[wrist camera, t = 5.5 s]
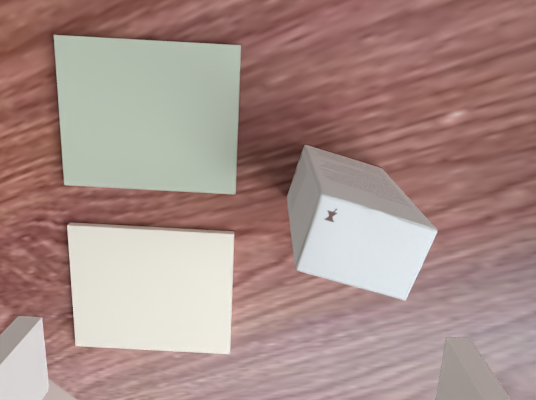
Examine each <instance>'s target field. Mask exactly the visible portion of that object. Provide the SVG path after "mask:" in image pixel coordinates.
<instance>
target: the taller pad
mask: <svg viewBox="0 0 536 400" xmlns="http://www.w3.org/2000/svg"><path fill="white" fill-rule="evenodd" d="M67 231H68V245H69V259H70V273H71V288H72V302H73V316H74V330H75V344H76V346H85V347H104V348H123V349H142V350H161V351H180V352H199V353H218V354H230V344H231V316H232V288H233V260H234V232H235V231H219V230H200V229H182V228H163V227H145V226H126V225H108V224H89V223H69V224H68V225H67Z"/></svg>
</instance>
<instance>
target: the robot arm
mask: <svg viewBox="0 0 536 400" xmlns="http://www.w3.org/2000/svg"><path fill="white" fill-rule="evenodd" d="M48 390H49V382H48V372H47V362H46V352H45V342H44V332H43V322H42V317H26V316H18V317H17V318H16V319H15V320H14V321H13V322H12V323H11V324H10V325H9V326H8V327H7V328H6V330H5V331H4V332H3V333H2V334H1V335H0V400H42V399H43V397H44V396H45V394H46V393H47V391H48ZM435 400H511V399H510V397H509V396H508V394H507V393H506V391H505V390H504V388H503V387H502V385H501V384H500V382H499V381H498V379H497V378H496V376H495V375H494V373H493V372H492V371H491V369H490V368H489V366H488V365H487V363H486V362H485V360H484V359H483V357H482V356H481V354H480V353H479V351H478V350H477V348H476V347H475V345H474V344H473V342H472V341H471V339H470V338H457V337H446V341H445V347H444V353H443V358H442V364H441V370H440V376H439V382H438V387H437V393H436V399H435Z"/></svg>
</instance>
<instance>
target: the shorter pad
mask: <svg viewBox="0 0 536 400" xmlns="http://www.w3.org/2000/svg"><path fill="white" fill-rule="evenodd" d="M54 47H55V61H56V75H57V89H58V104H59V118H60V132H61V146H62V160H63V174H64V185H72V186H90V187H108V188H127V189H145V190H164V191H182V192H201V193H219V194H236V175H237V147H238V119H239V91H240V63H241V45H226V44H208V43H190V42H172V41H154V40H136V39H118V38H100V37H82V36H64V35H54Z"/></svg>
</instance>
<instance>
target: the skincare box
mask: <svg viewBox="0 0 536 400" xmlns="http://www.w3.org/2000/svg"><path fill="white" fill-rule="evenodd" d="M287 204H288V213H289V221H290V230H291V238H292V246H293V254H294V263H295V268H296V270H297V271H300V272H304V273H307V274H310V275H314V276H318V277H321V278H325V279H328V280H332V281H336V282H339V283H343V284H346V285H350V286H354V287H358V288H362V289H365V290H369V291H373V292H376V293H380V294H383V295H387V296H391V297H394V298H398V299H401V300H406V299H407V297H408V294H409V292H410V290H411V288H412V286H413V284H414V281H415V279H416V277H417V275H418V273H419V271H420V269H421V266H422V264H423V262H424V260H425V258H426V256H427V254H428V251H429V249H430V247H431V245H432V243H433V241H434V238H435V236H436V234H437V229H436V228H435V227H434V226H433V225H432V223H431V222H430V221H429V220H428V219H427V218H426V217H425V216H424V214H423V213H422V212H421V211H420V210H419V209H418V208H417V207H416V205H415V204H414V203H413V202H412V201H411V200H410V199H409V198H408V197H407V195H406V194H405V193H404V192H403V191H402V190H401V189H400V188H399V186H398V185H397V184H396V183H395V182H394V181H393V180H392V179H391V178H390V176H389V175H388V174H387V173H386V172H385V171H384V170H383V169H382V168H379V167H376V166H373V165H370V164H367V163H364V162H360V161H357V160H354V159H351V158H348V157H344V156H341V155H338V154H335V153H331V152H328V151H325V150H322V149H318V148H315V147H312V146H309V145H304V147H303V150H302V153H301V156H300V159H299V162H298V164H297V167H296V170H295V174H294V177H293V180H292V183H291V186H290V189H289V192H288V195H287Z"/></svg>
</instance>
